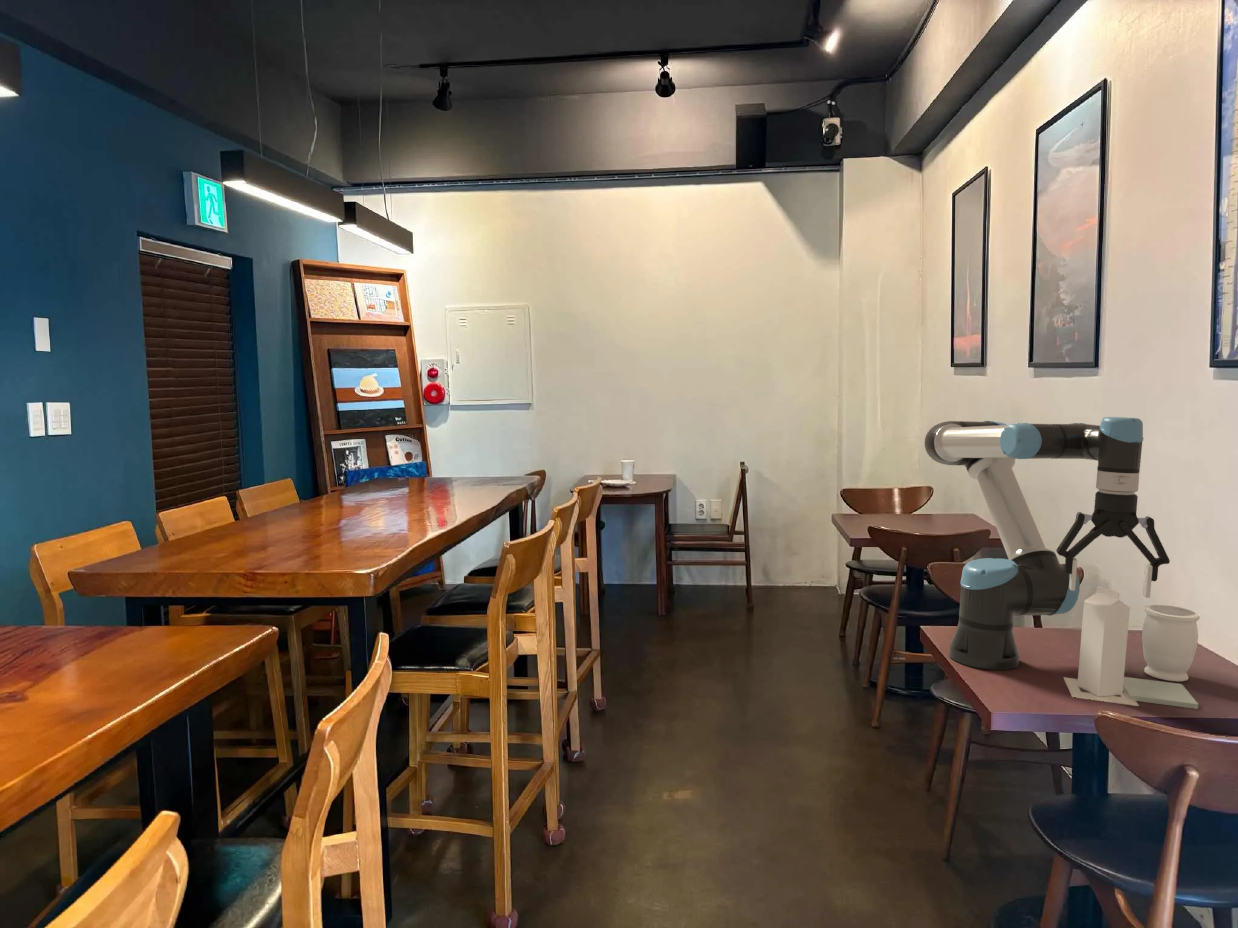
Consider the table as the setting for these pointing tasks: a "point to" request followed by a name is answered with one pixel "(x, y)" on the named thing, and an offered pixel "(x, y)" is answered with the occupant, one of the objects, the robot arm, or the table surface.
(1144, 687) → the coaster
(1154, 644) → the jar
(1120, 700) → the tile
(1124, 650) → the milk
